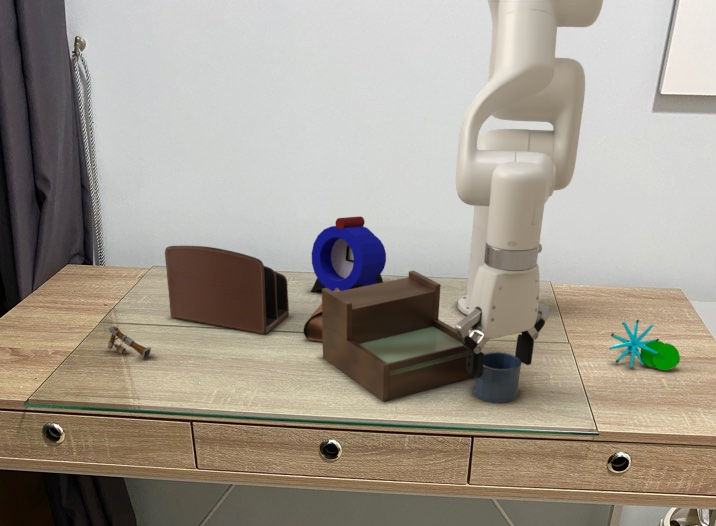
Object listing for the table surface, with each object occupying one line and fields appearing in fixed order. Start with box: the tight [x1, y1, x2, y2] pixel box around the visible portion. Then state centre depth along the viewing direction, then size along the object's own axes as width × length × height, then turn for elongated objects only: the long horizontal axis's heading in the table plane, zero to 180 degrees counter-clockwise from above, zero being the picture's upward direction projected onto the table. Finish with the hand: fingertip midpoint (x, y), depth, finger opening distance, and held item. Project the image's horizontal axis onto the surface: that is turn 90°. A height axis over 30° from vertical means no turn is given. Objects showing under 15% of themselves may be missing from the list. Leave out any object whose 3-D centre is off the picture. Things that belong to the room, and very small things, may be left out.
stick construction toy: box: [608, 319, 681, 371], centre depth 146 cm, size 12×7×8 cm
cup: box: [473, 351, 523, 404], centre depth 135 cm, size 7×7×6 cm
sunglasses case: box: [303, 288, 340, 343], centre depth 158 cm, size 18×7×7 cm
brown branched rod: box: [107, 325, 152, 360], centre depth 147 cm, size 2×8×4 cm, turn 66°
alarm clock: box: [310, 216, 387, 293], centre depth 169 cm, size 12×12×15 cm
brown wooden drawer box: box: [321, 270, 478, 402], centre depth 141 cm, size 19×18×12 cm
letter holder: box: [164, 245, 290, 335], centre depth 157 cm, size 10×20×14 cm, turn 68°
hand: (498, 368), depth 133 cm, fingers open, 9 cm apart
